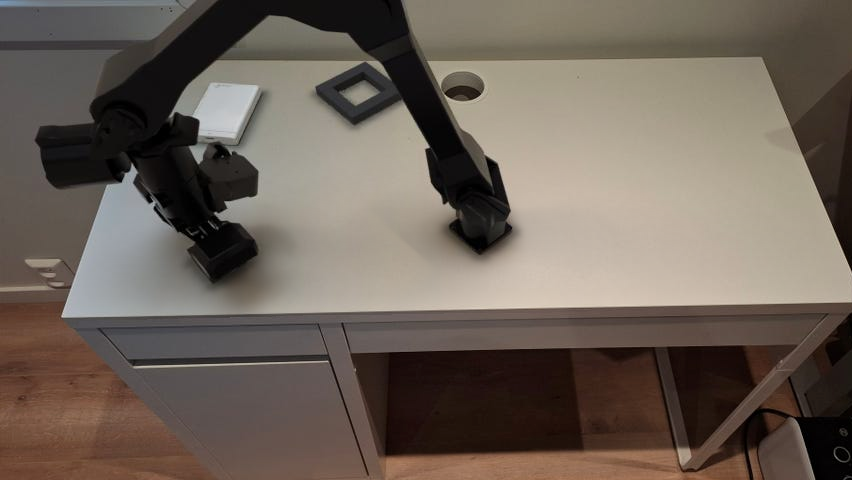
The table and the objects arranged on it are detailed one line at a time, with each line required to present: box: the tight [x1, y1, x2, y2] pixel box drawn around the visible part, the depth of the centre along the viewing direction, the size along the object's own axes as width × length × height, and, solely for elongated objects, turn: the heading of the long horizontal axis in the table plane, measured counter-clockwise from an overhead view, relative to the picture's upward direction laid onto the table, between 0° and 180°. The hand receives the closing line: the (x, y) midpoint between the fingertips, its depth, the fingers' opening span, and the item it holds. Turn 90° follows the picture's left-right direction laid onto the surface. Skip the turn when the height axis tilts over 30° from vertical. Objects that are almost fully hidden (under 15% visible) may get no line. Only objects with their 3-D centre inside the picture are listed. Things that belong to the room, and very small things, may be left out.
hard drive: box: [191, 82, 263, 146], centre depth 94 cm, size 2×8×12 cm
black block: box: [186, 245, 248, 285], centre depth 78 cm, size 5×5×2 cm
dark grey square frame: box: [314, 60, 402, 126], centre depth 98 cm, size 10×10×2 cm
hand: (217, 257), depth 78 cm, fingers closed on black block, 5 cm apart
